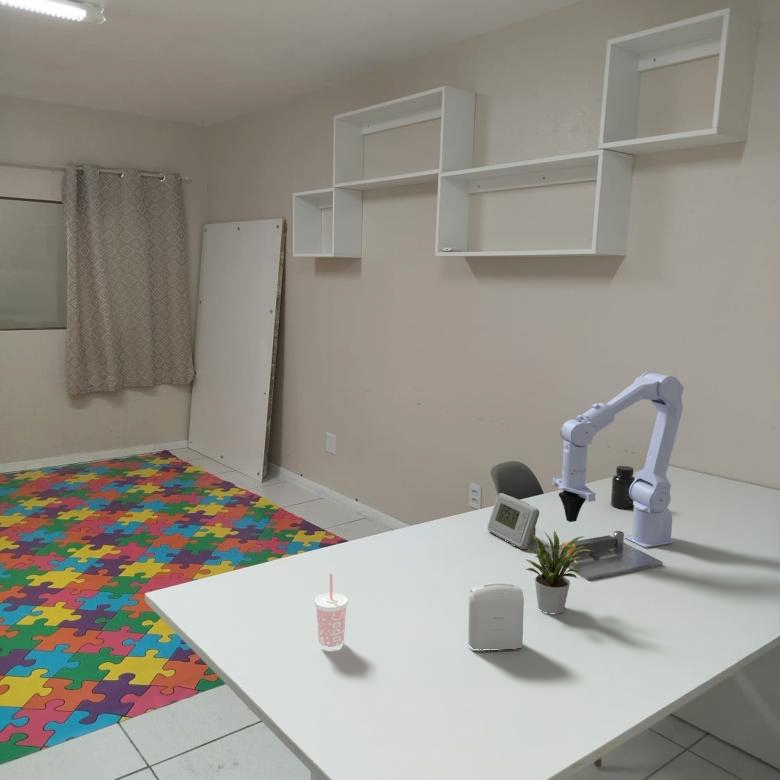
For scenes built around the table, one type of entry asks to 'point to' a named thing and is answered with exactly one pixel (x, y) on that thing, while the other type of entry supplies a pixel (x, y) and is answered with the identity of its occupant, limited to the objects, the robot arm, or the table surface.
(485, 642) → the photo printer
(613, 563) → the grey lever board
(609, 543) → the swing bar
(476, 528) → the table surface
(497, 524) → the digital clock
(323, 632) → the beverage cup
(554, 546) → the house plant
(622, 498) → the supplement bottle
